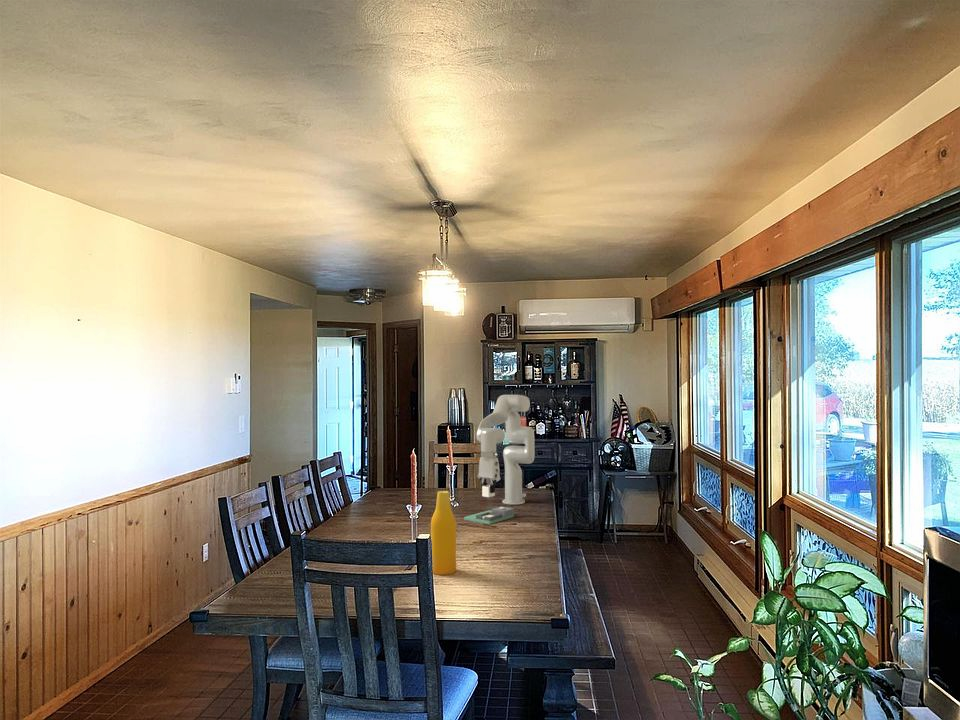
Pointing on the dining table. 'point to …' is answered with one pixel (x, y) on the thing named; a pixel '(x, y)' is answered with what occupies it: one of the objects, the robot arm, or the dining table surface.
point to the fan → (503, 511)
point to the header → (489, 516)
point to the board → (473, 518)
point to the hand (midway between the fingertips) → (488, 491)
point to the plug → (487, 491)
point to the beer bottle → (443, 536)
